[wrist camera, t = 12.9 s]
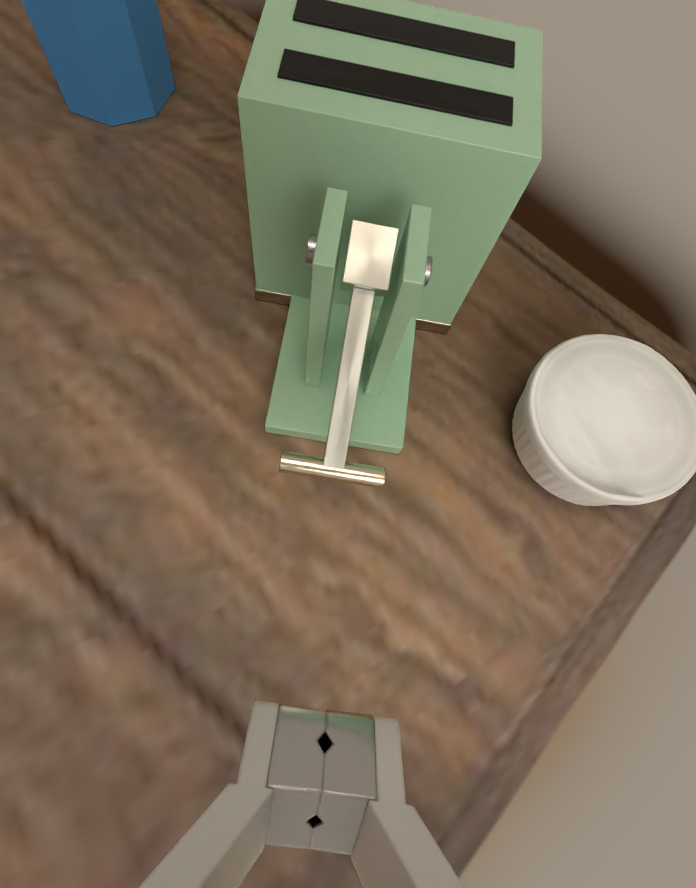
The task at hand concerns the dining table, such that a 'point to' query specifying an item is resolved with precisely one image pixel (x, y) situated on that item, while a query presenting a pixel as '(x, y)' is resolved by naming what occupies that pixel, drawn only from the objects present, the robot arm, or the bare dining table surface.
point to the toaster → (387, 135)
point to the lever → (352, 356)
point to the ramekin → (606, 423)
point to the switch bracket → (322, 334)
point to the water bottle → (105, 56)
